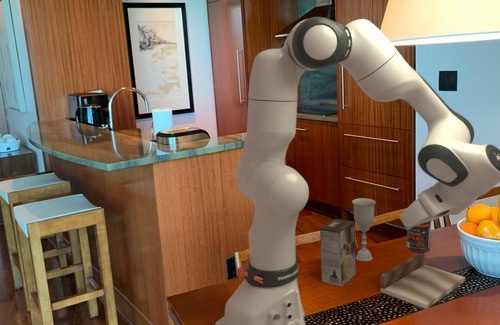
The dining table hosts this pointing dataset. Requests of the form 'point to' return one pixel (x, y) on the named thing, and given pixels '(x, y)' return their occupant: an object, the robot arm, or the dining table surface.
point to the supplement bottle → (419, 238)
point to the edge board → (418, 282)
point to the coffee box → (338, 252)
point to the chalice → (364, 223)
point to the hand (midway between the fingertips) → (416, 223)
